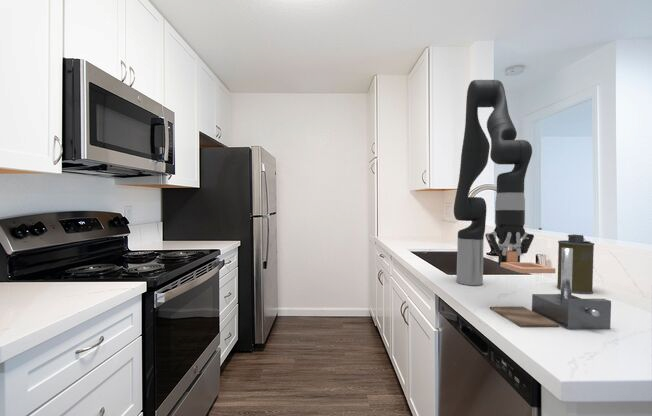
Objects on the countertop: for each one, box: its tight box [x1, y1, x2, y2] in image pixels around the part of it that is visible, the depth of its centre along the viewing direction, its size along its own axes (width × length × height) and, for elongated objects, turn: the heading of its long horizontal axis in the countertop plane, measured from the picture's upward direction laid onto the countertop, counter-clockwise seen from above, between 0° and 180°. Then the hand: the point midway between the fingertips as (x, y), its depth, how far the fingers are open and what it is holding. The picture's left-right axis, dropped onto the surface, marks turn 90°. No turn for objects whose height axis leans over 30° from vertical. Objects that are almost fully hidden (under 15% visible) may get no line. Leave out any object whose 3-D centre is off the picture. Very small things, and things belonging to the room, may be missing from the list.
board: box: [489, 306, 560, 328], centre depth 88 cm, size 14×10×1 cm
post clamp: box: [531, 248, 612, 330], centre depth 86 cm, size 15×11×19 cm
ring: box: [499, 249, 556, 274], centre depth 89 cm, size 14×9×4 cm, turn 3°
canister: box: [556, 234, 595, 295], centre depth 117 cm, size 11×10×20 cm
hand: (508, 267), depth 94 cm, fingers closed on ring, 3 cm apart
